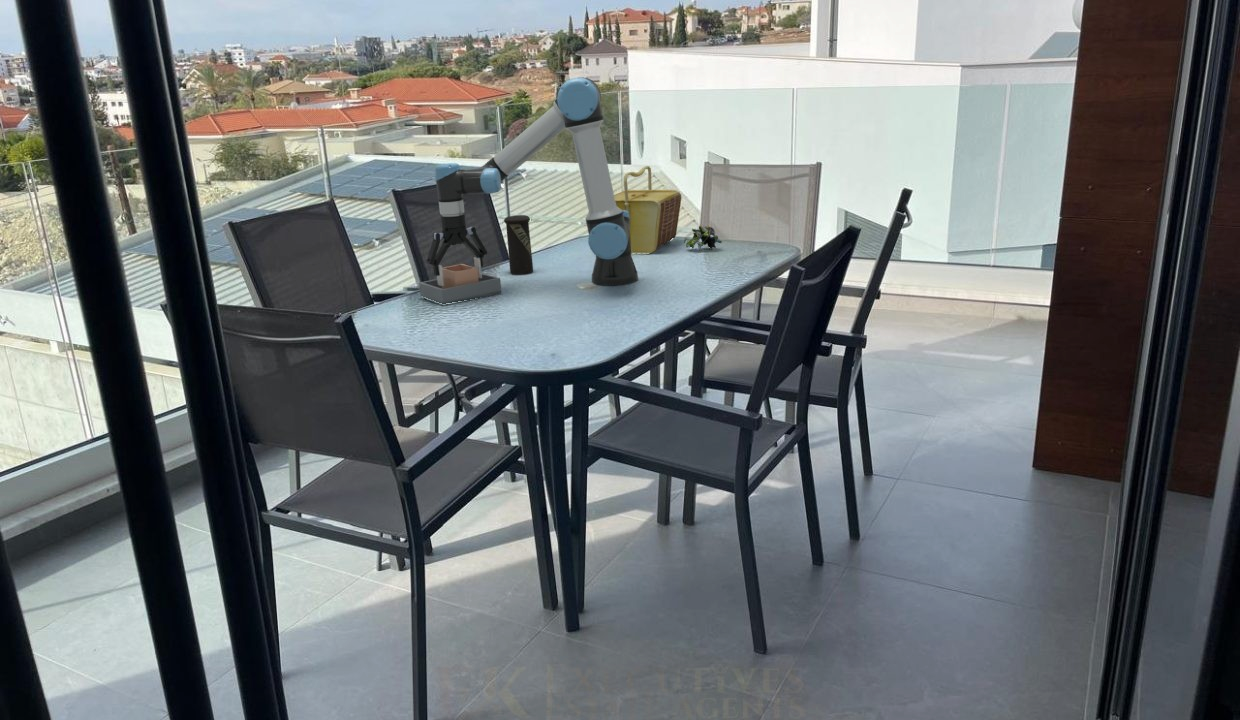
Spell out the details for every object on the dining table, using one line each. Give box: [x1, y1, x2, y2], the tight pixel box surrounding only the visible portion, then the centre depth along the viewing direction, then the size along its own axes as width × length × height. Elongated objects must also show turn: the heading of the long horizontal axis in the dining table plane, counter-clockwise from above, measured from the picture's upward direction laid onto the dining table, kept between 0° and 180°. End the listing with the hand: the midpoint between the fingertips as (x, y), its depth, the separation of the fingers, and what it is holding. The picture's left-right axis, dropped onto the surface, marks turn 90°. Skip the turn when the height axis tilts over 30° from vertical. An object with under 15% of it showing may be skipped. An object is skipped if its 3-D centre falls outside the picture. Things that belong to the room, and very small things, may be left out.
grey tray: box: [418, 272, 503, 304], centre depth 290 cm, size 16×21×5 cm
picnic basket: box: [614, 165, 682, 254], centre depth 348 cm, size 29×26×30 cm
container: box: [503, 214, 534, 275], centre depth 317 cm, size 9×9×20 cm
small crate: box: [442, 263, 479, 289], centre depth 289 cm, size 10×8×8 cm
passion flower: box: [683, 225, 723, 252], centre depth 339 cm, size 11×11×12 cm
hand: (460, 281), depth 289 cm, fingers open, 13 cm apart
